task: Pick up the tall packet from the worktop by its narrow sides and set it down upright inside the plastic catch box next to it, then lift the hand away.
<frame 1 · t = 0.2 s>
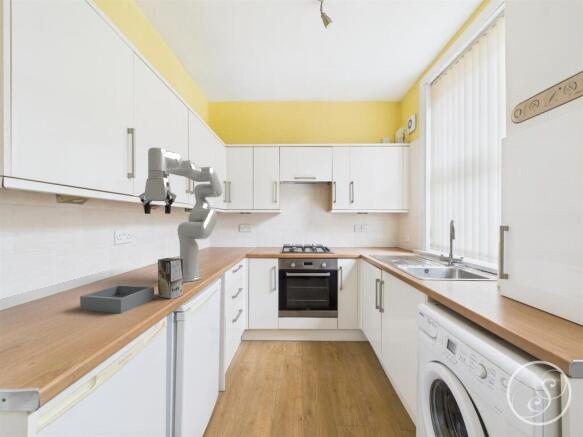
hand: (157, 213, 112), 36 cm above the counter, tool pointing down, fingers open, 9 cm apart
catch box: (119, 303, 98), on the counter
coffee box: (170, 296, 108), on the counter
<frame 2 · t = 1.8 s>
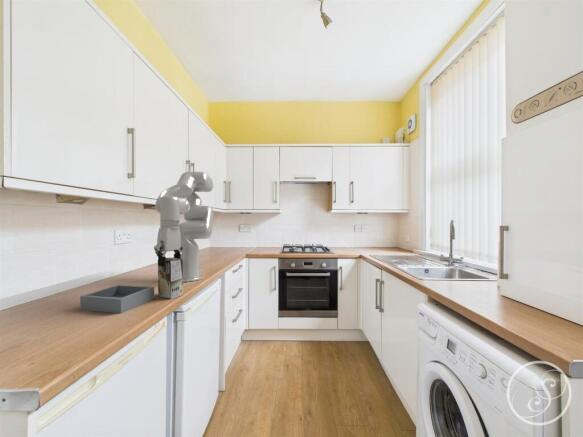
hand: (169, 264, 108), 14 cm above the counter, tool pointing down, fingers open, 9 cm apart
nothing on the counter moved.
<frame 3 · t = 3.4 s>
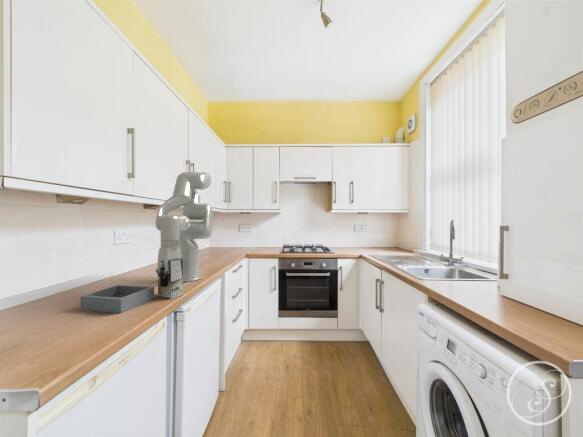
hand: (170, 283, 108), 5 cm above the counter, tool pointing down, fingers closed on coffee box, 7 cm apart
coffee box: (170, 296, 108), on the counter, touching gripper
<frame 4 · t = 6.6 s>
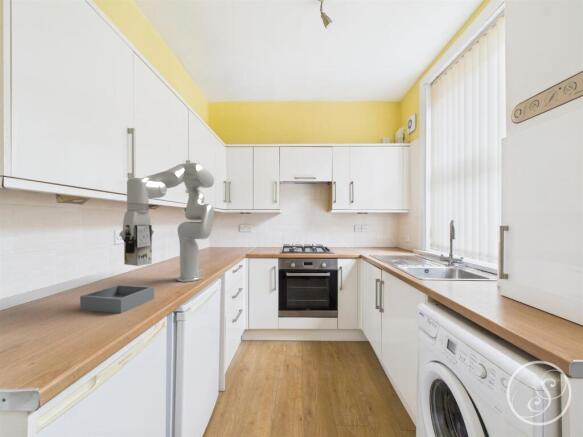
hand: (137, 251, 101), 20 cm above the counter, tool pointing down, fingers closed on coffee box, 7 cm apart
coffee box: (138, 264, 101), point 15 cm above the counter, touching gripper
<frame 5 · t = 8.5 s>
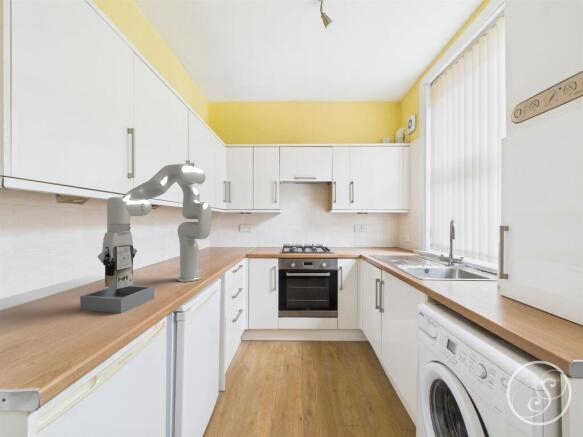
hand: (119, 272, 98), 12 cm above the counter, tool pointing down, fingers closed on coffee box, 7 cm apart
coffee box: (119, 286, 98), point 7 cm above the counter, touching gripper
when the fingers open (7 cm above the counter, at t = 10.0 s): coffee box drops 1 cm, resting on catch box.
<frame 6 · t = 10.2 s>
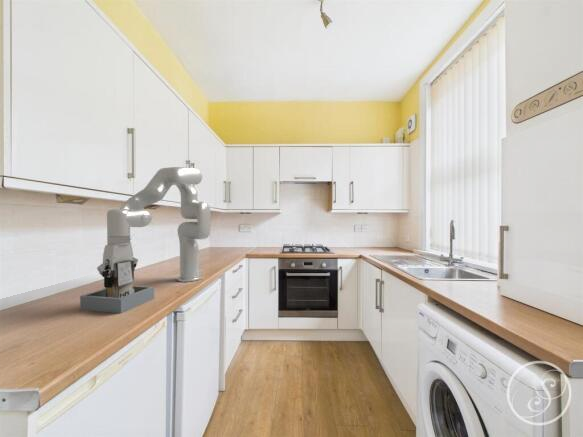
hand: (119, 283, 98), 8 cm above the counter, tool pointing down, fingers open, 9 cm apart
coffee box: (120, 301, 99), point 1 cm above the counter, touching catch box
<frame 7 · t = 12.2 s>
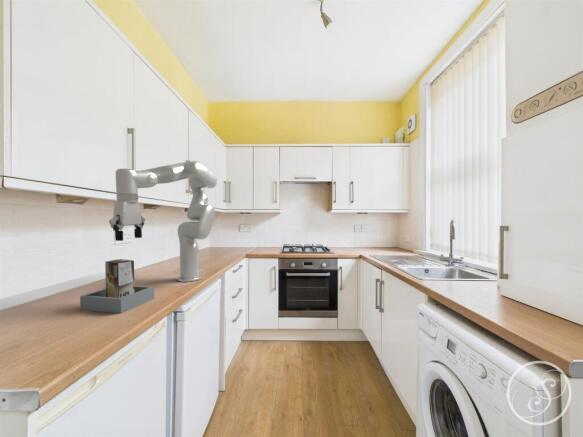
hand: (129, 239, 105), 25 cm above the counter, tool pointing down, fingers open, 9 cm apart
nothing on the counter moved.
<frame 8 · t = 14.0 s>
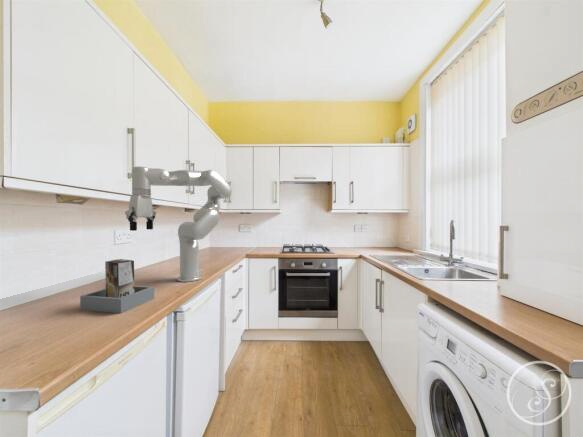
hand: (141, 229, 117), 28 cm above the counter, tool pointing down, fingers open, 9 cm apart
nothing on the counter moved.
at the end: coffee box inside the target area on the catch box (0.3 cm from its centre), point 0.8 cm above the catch box's base; coffee box tilted 0°; the gripper is holding nothing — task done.
